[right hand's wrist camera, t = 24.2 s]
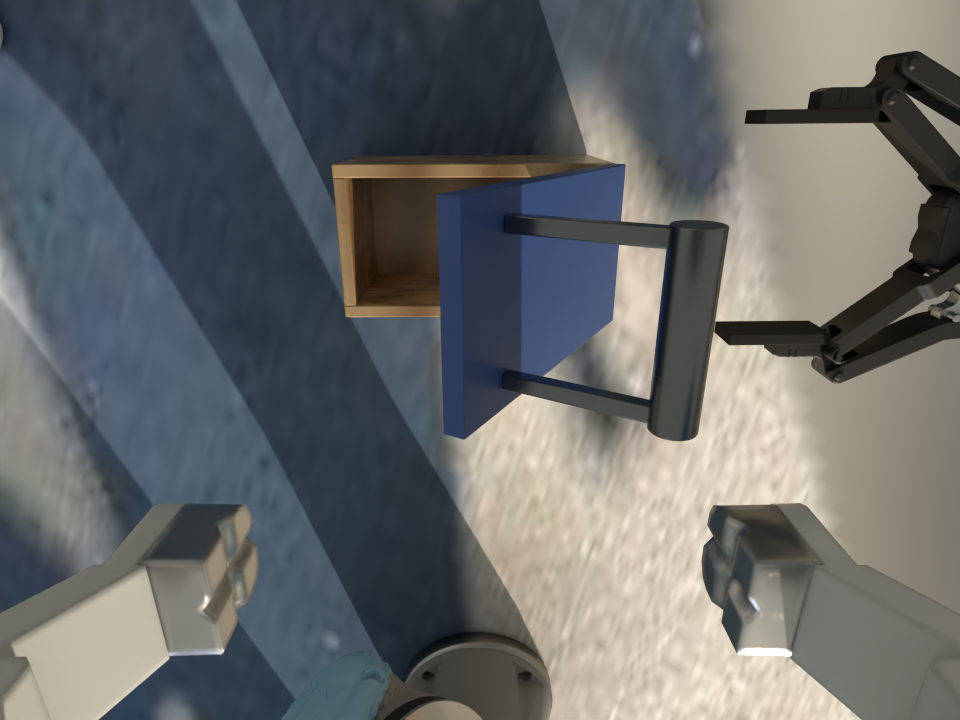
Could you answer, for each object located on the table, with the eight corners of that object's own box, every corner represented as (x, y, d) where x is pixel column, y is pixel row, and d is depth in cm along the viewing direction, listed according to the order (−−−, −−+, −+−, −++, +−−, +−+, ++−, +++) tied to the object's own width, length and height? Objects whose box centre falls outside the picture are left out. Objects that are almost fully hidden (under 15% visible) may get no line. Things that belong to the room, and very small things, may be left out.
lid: (443, 434, 24) (671, 501, 19) (436, 193, 20) (711, 212, 16) (597, 318, 37) (750, 342, 33) (609, 163, 34) (781, 168, 30)
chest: (370, 281, 46) (345, 317, 38) (360, 155, 43) (331, 164, 34) (580, 280, 46) (603, 316, 38) (588, 154, 43) (615, 163, 34)
